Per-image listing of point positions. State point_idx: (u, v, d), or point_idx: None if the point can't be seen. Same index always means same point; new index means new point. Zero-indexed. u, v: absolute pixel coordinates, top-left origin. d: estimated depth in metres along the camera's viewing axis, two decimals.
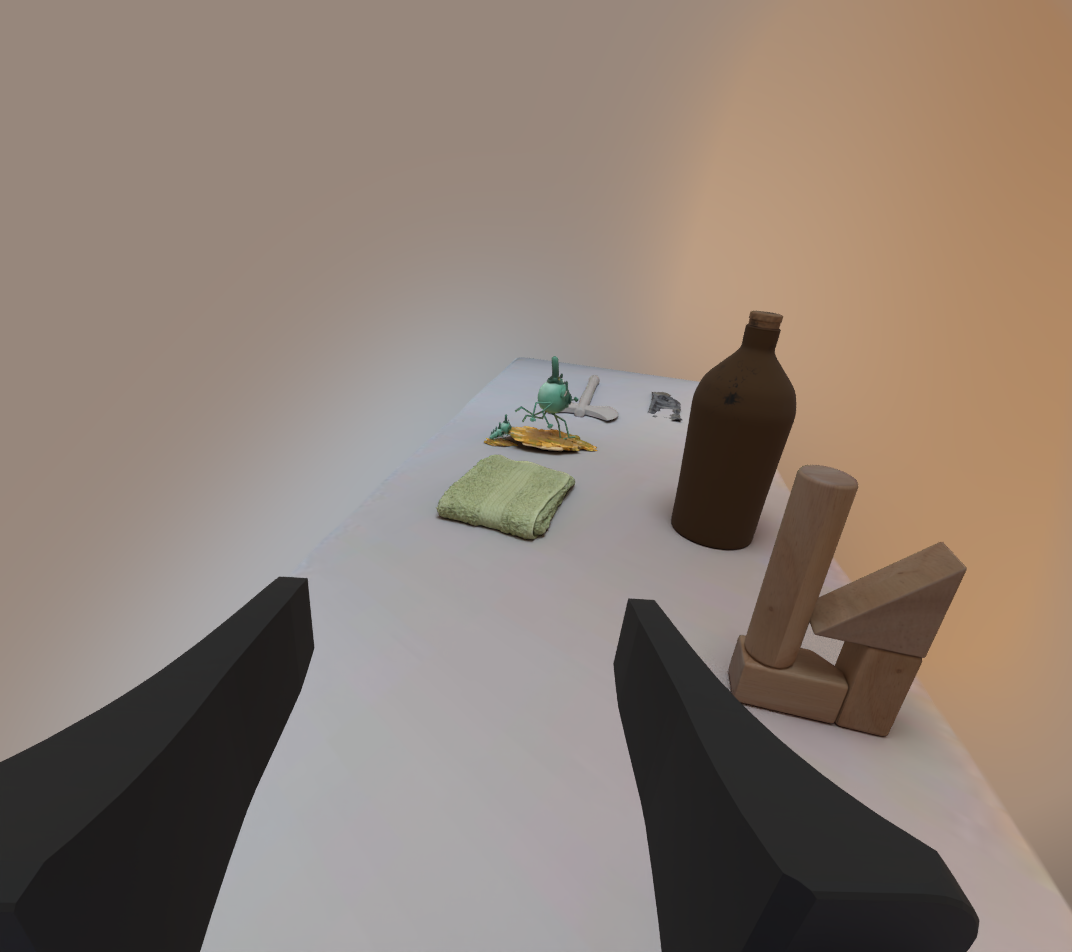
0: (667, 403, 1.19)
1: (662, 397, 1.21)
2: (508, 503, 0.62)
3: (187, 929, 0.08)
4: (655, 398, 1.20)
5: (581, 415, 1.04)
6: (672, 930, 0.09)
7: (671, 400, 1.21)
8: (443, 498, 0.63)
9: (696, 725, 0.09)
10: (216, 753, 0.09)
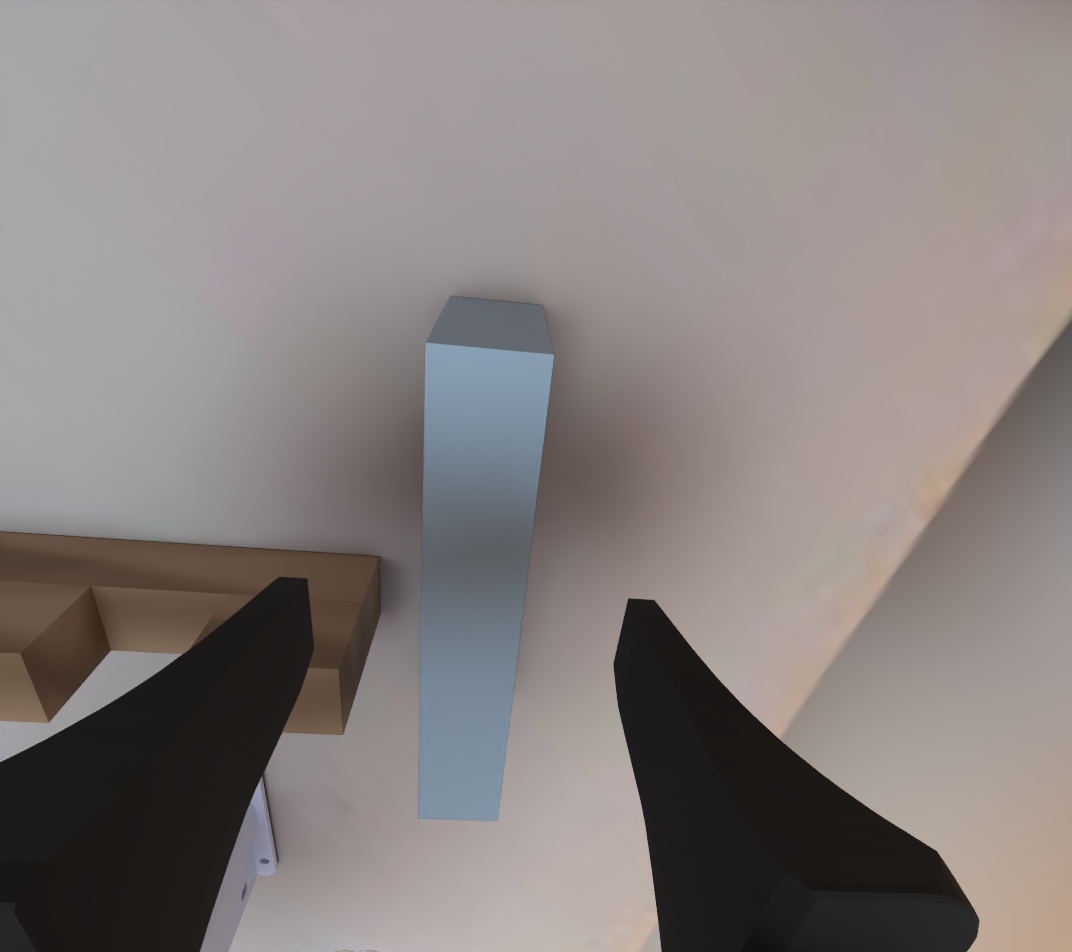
0: None
1: None
2: None
3: (187, 929, 0.08)
4: None
5: None
6: (672, 930, 0.09)
7: None
8: None
9: (696, 725, 0.09)
10: (216, 753, 0.09)
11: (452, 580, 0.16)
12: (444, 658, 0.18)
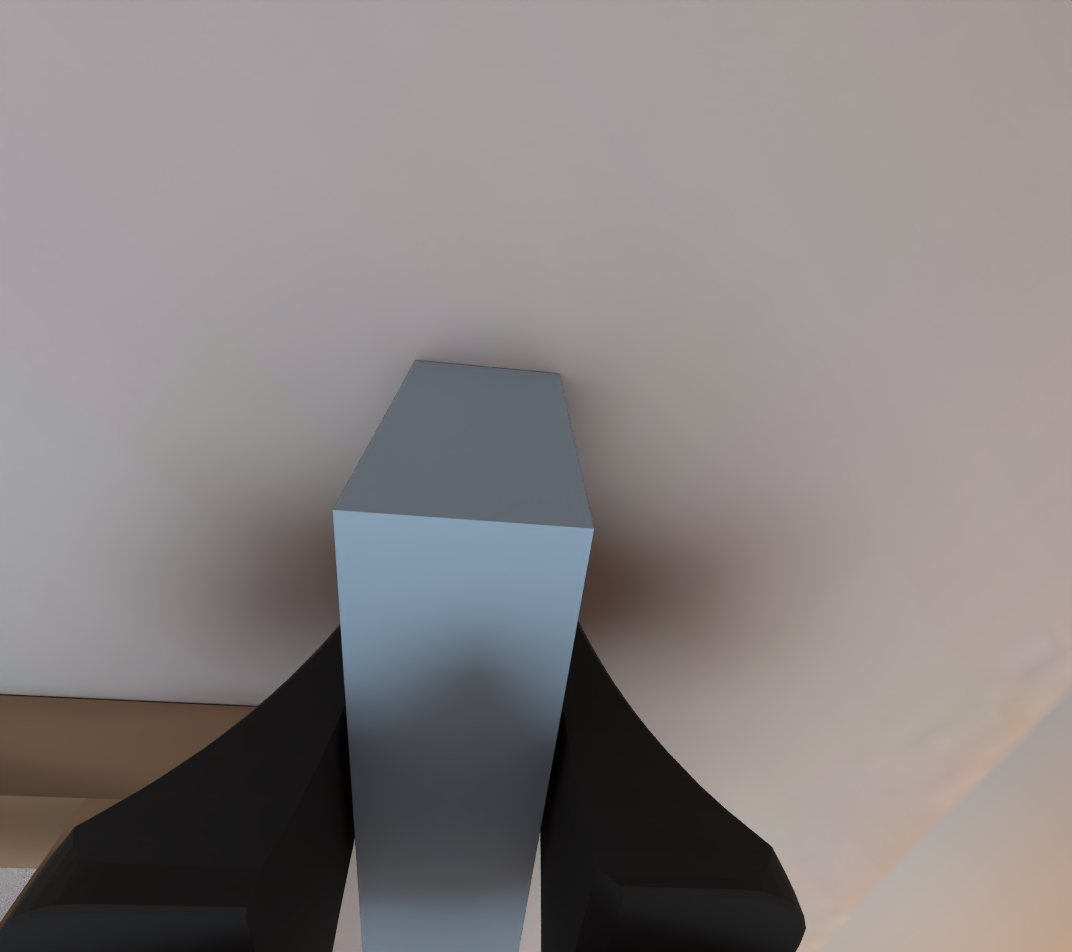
0: None
1: None
2: None
3: (326, 932, 0.09)
4: None
5: None
6: (546, 927, 0.09)
7: None
8: None
9: (568, 719, 0.09)
10: (346, 759, 0.09)
11: (408, 859, 0.10)
12: (401, 949, 0.11)
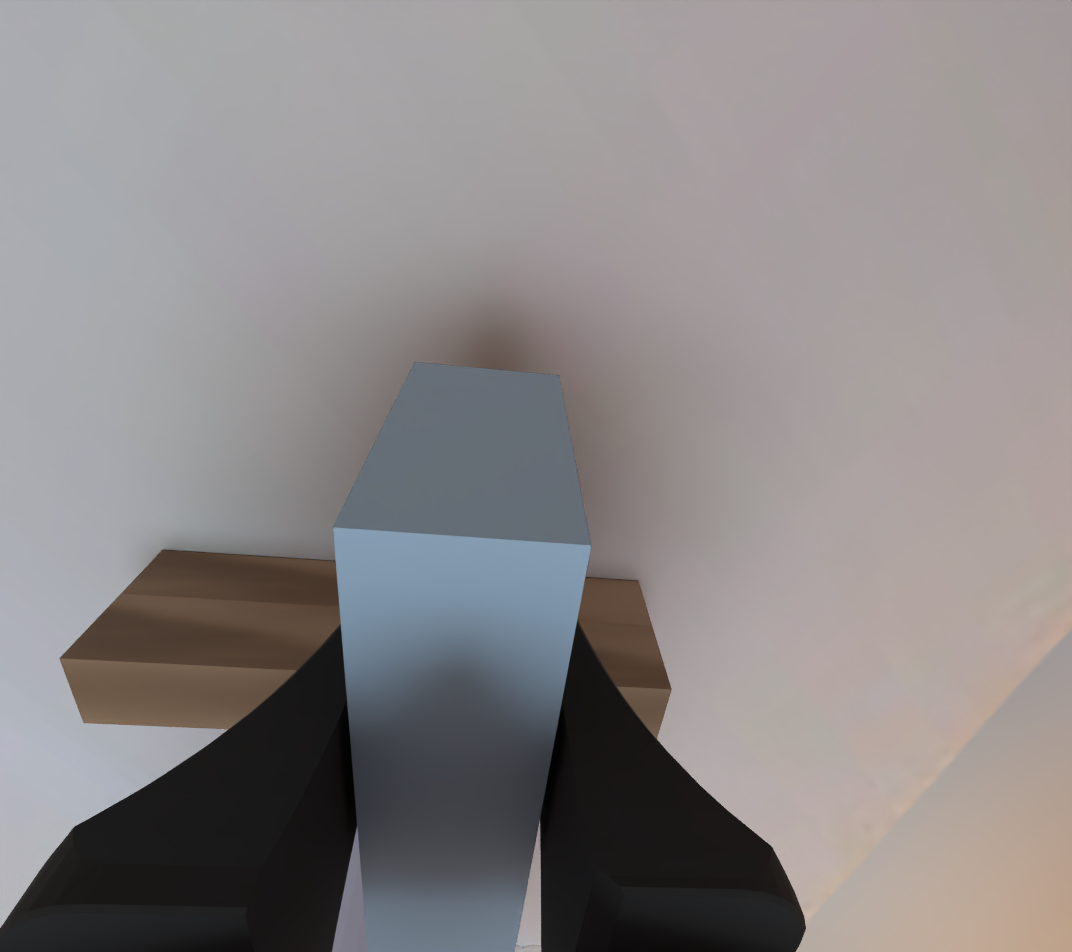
0: None
1: None
2: None
3: (326, 931, 0.09)
4: None
5: None
6: (546, 928, 0.09)
7: None
8: None
9: (568, 719, 0.09)
10: (346, 758, 0.09)
11: (409, 854, 0.10)
12: (404, 937, 0.11)
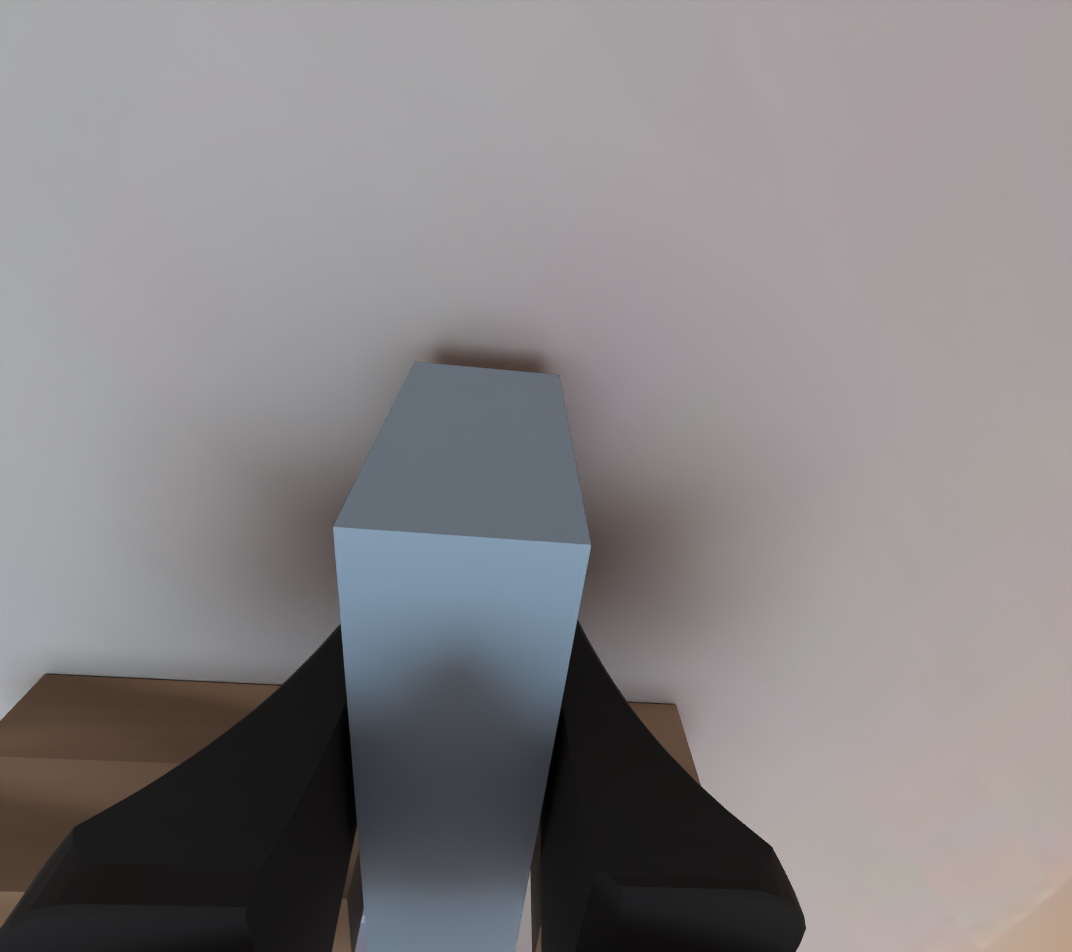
0: None
1: None
2: None
3: (326, 930, 0.09)
4: None
5: None
6: (546, 928, 0.09)
7: None
8: None
9: (568, 719, 0.09)
10: (346, 759, 0.09)
11: (410, 854, 0.10)
12: (403, 936, 0.11)
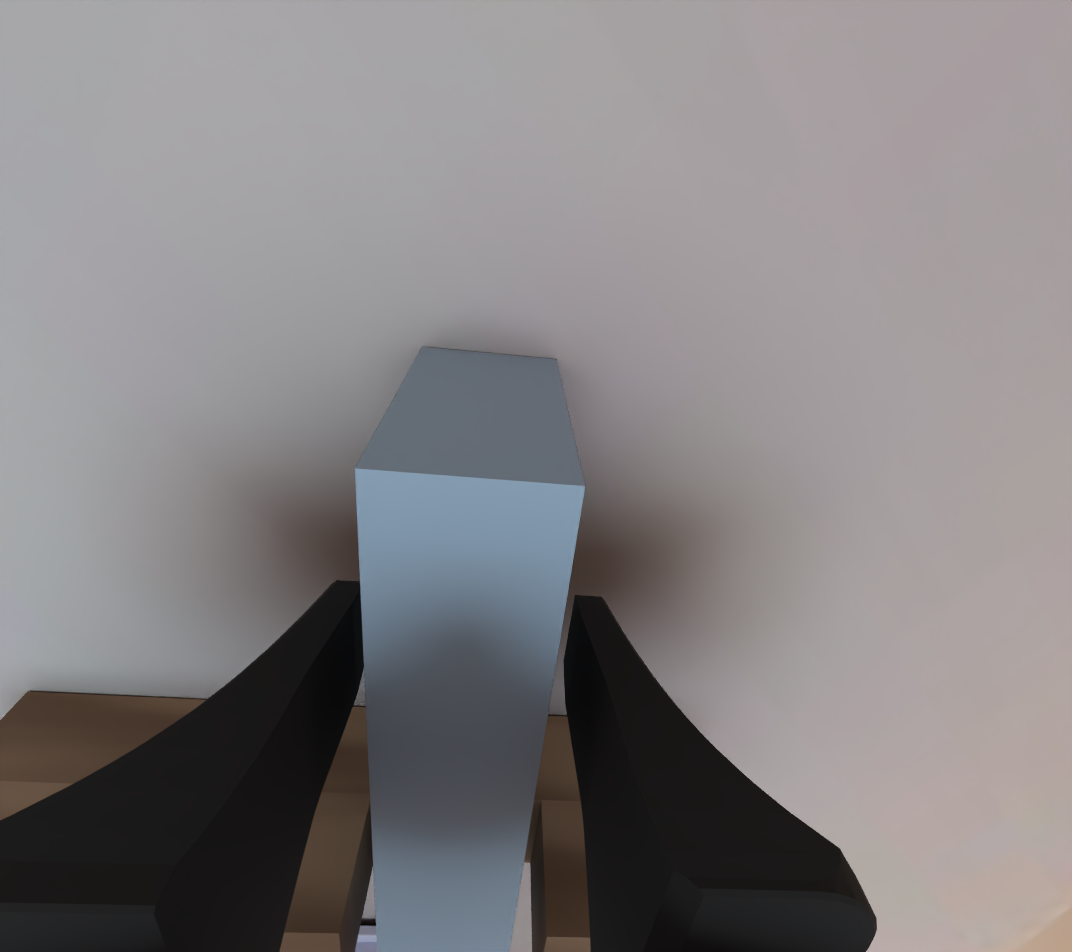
0: None
1: None
2: None
3: (271, 930, 0.09)
4: None
5: None
6: (598, 929, 0.09)
7: None
8: None
9: (620, 721, 0.09)
10: (294, 756, 0.09)
11: (417, 801, 0.11)
12: (410, 891, 0.12)
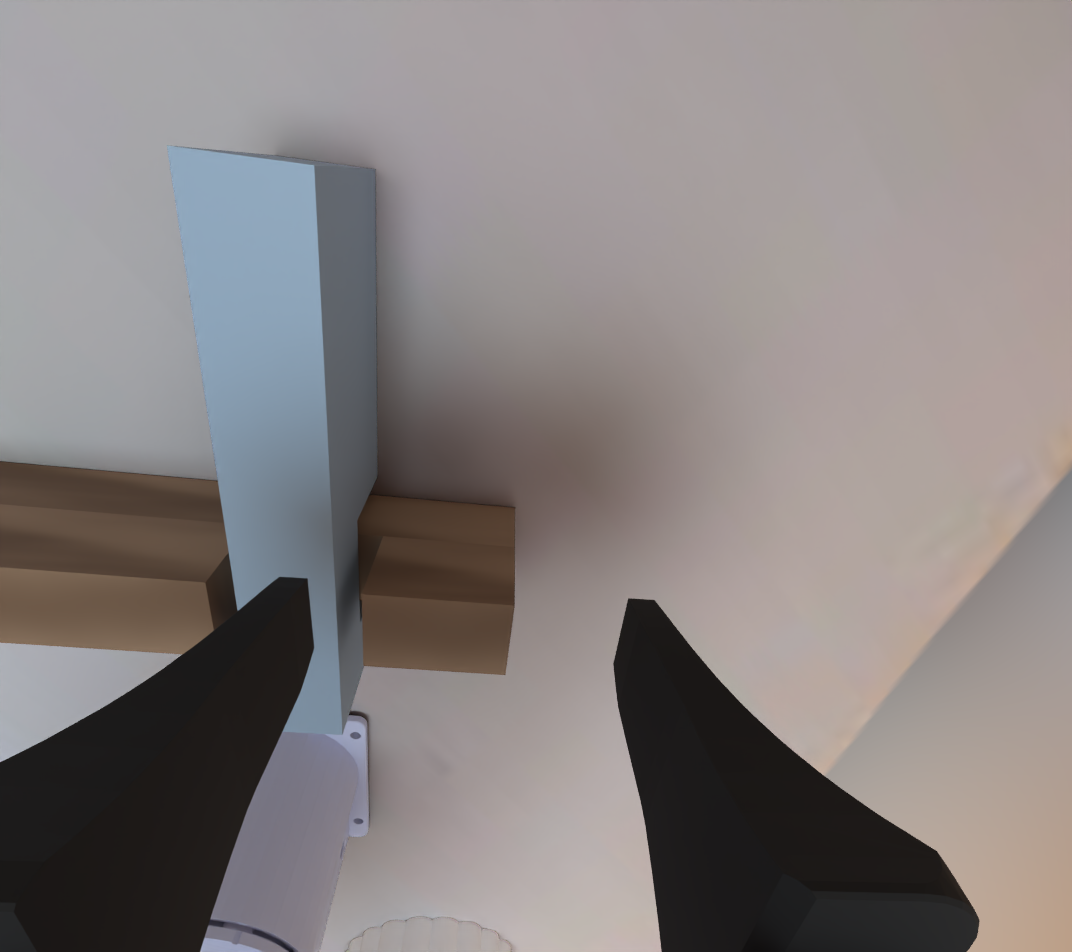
0: None
1: None
2: None
3: (187, 929, 0.08)
4: None
5: None
6: (672, 929, 0.09)
7: None
8: None
9: (696, 725, 0.09)
10: (216, 753, 0.09)
11: (246, 445, 0.15)
12: (252, 540, 0.16)
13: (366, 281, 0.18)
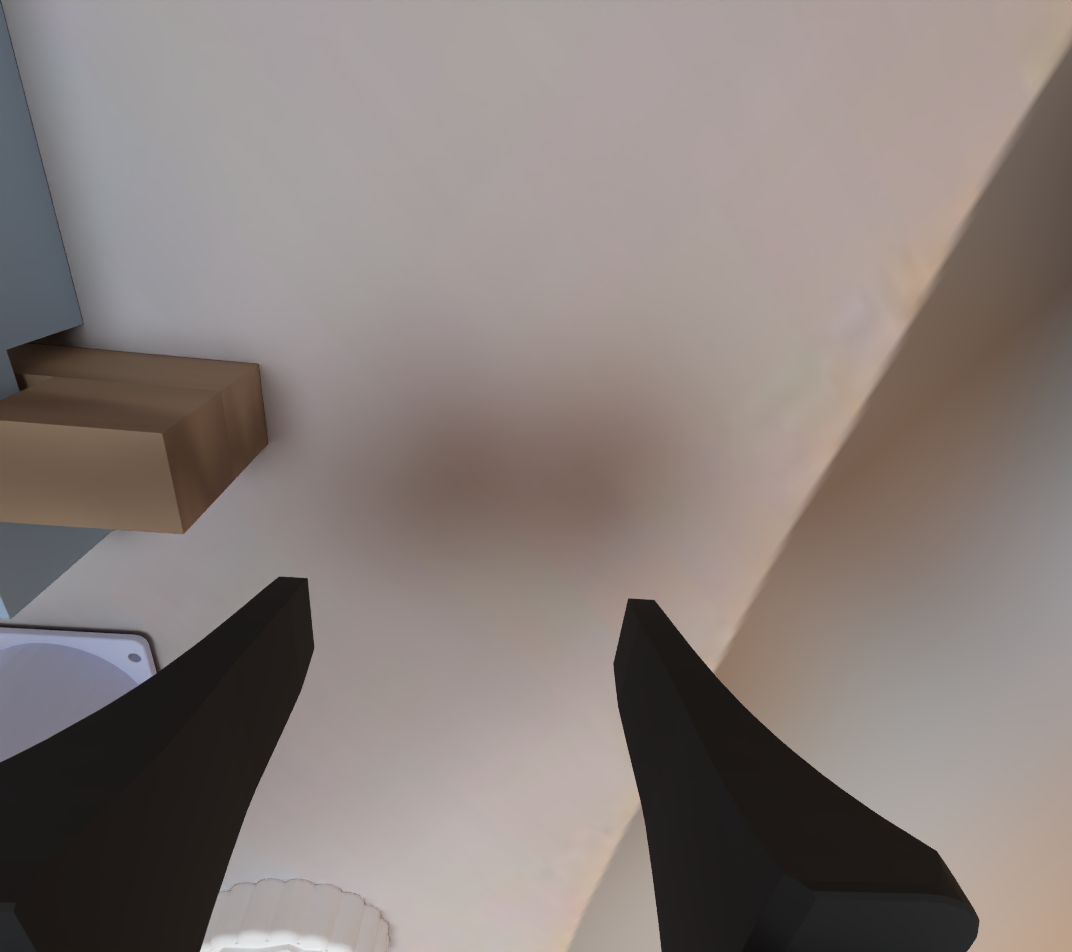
0: None
1: None
2: None
3: (187, 928, 0.08)
4: None
5: None
6: (672, 930, 0.09)
7: None
8: None
9: (696, 725, 0.09)
10: (216, 753, 0.09)
11: None
12: None
13: None
